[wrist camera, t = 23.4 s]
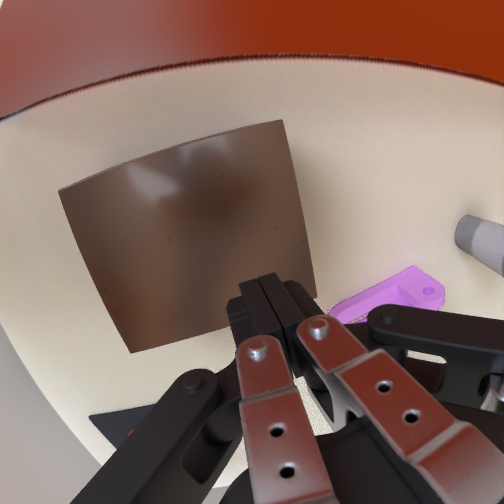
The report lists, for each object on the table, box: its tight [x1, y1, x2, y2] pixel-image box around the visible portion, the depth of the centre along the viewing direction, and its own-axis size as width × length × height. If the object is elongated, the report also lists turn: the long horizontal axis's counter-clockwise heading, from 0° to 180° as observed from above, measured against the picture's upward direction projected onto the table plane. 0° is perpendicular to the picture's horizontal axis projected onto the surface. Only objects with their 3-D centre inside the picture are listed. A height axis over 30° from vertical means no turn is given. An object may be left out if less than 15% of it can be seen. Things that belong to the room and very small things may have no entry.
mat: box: [89, 404, 155, 449], centre depth 35 cm, size 12×12×1 cm
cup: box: [455, 215, 504, 277], centre depth 29 cm, size 7×7×12 cm
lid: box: [58, 120, 317, 353], centre depth 20 cm, size 14×13×1 cm
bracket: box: [328, 266, 445, 324], centre depth 31 cm, size 13×6×7 cm, turn 110°
